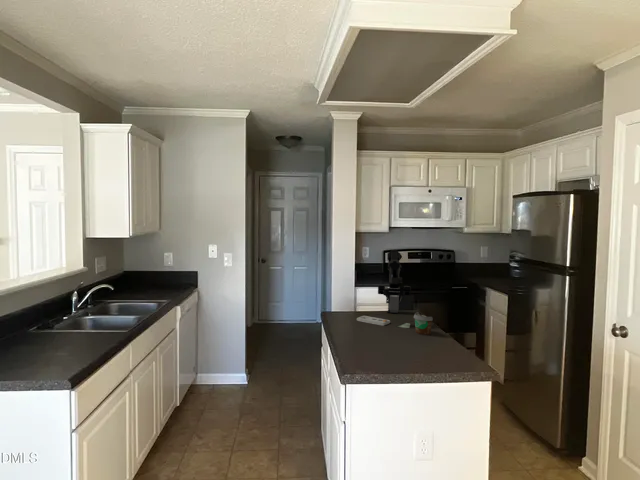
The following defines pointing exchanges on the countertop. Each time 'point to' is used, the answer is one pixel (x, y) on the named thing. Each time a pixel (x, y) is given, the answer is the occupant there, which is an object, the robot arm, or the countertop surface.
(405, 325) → the mat
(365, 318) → the power strip
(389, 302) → the robot arm
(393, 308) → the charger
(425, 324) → the food container
